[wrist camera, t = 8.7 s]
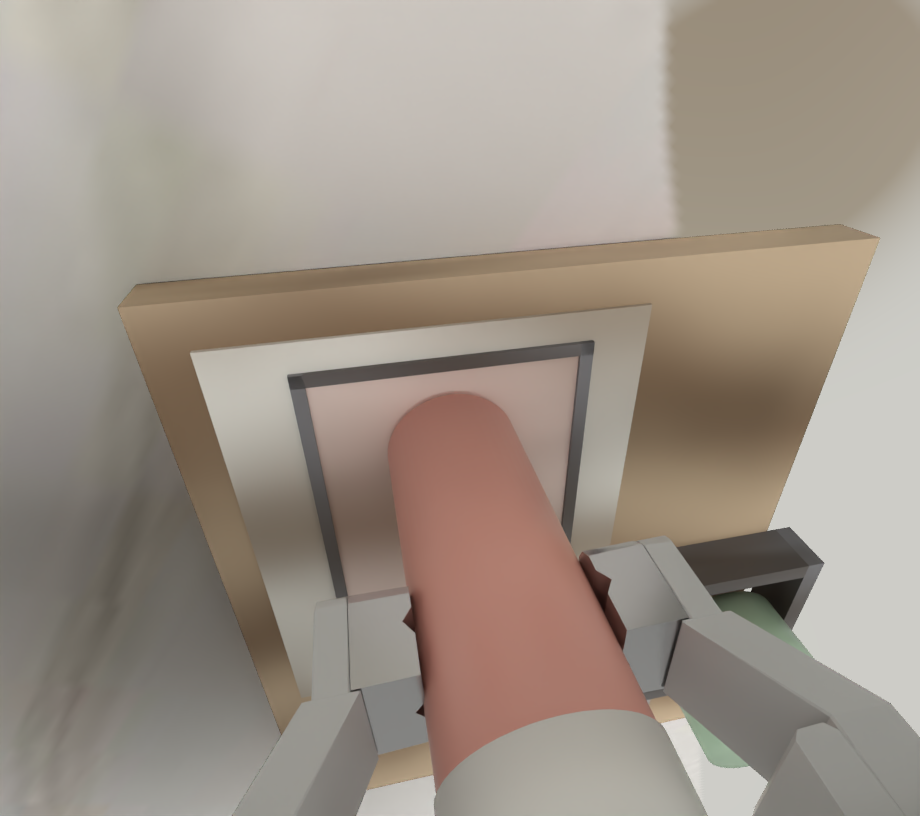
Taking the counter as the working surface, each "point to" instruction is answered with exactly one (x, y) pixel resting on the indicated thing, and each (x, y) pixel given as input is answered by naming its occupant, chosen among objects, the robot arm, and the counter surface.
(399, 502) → the marker
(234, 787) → the counter surface
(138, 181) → the counter surface
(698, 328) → the picture board
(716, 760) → the button
